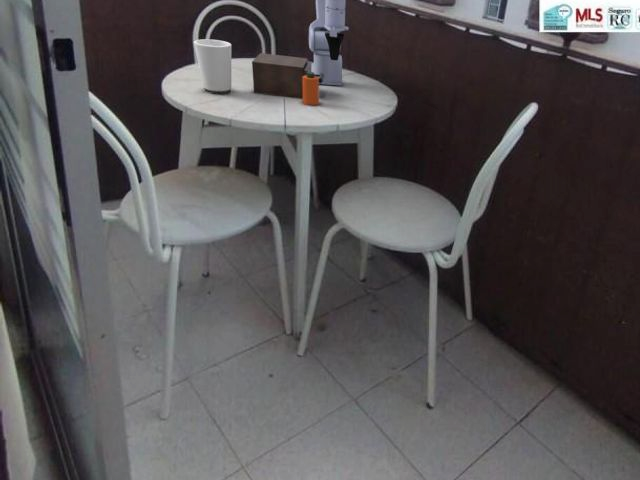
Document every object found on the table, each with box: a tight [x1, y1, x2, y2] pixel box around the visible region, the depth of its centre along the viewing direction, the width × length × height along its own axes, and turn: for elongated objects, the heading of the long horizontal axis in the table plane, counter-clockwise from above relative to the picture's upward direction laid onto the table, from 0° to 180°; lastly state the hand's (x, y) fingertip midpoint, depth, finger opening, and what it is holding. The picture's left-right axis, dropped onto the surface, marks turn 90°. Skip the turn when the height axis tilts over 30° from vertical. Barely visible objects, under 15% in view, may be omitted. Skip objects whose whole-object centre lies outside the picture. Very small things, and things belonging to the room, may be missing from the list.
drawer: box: [303, 61, 324, 83], centre depth 157 cm, size 18×12×7 cm
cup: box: [193, 38, 232, 95], centre depth 146 cm, size 10×10×13 cm
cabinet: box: [251, 52, 309, 99], centre depth 156 cm, size 15×14×9 cm
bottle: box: [302, 71, 320, 106], centre depth 148 cm, size 5×5×8 cm
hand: (334, 59), depth 155 cm, fingers closed
